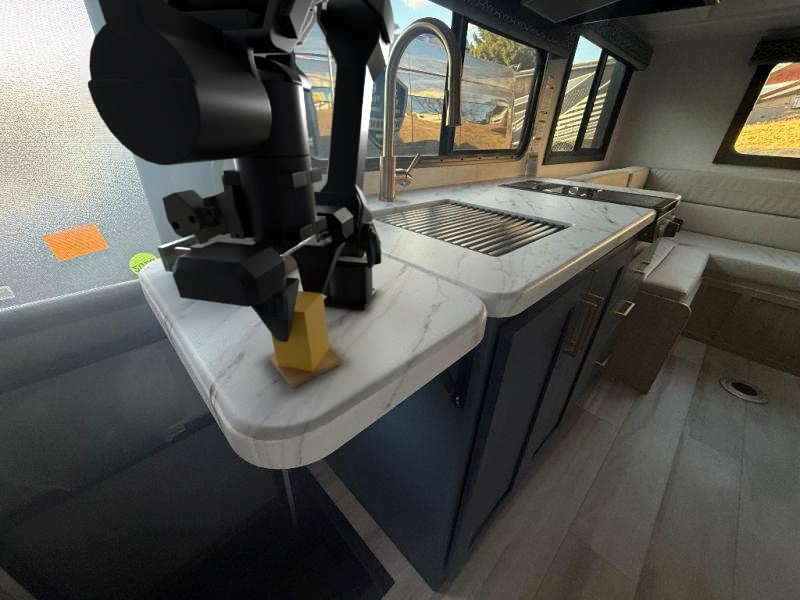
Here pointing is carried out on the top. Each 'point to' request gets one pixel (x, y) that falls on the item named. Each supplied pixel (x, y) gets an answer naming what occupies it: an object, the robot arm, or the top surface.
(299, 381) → the coaster
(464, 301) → the top surface
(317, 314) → the block
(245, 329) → the top surface
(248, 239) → the cabinet
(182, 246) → the drawer
